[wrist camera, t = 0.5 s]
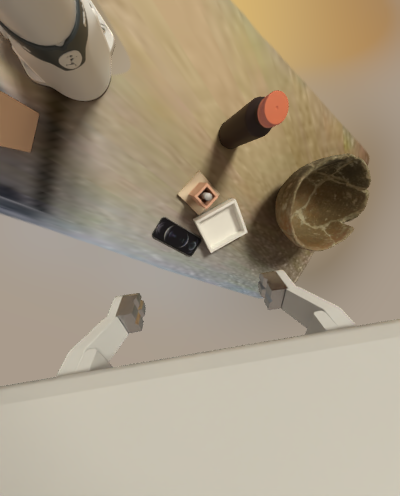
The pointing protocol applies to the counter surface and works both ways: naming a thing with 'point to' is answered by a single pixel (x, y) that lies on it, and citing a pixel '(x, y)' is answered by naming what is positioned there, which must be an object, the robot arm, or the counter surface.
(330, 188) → the bowl
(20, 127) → the tan rectangular block
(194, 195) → the sleeve
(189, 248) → the smartphone
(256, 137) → the bottle
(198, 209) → the peg stand
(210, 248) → the tray
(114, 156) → the counter surface
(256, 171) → the counter surface
